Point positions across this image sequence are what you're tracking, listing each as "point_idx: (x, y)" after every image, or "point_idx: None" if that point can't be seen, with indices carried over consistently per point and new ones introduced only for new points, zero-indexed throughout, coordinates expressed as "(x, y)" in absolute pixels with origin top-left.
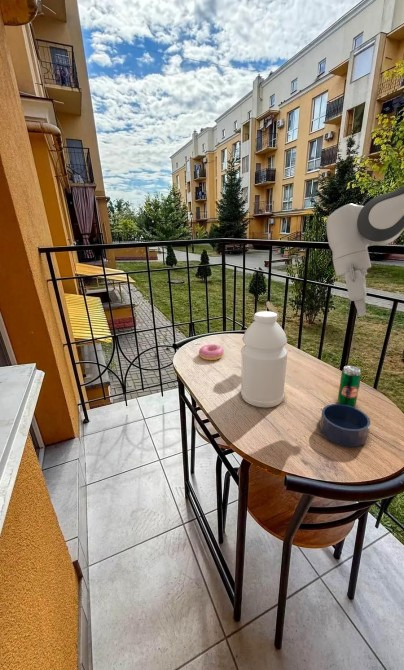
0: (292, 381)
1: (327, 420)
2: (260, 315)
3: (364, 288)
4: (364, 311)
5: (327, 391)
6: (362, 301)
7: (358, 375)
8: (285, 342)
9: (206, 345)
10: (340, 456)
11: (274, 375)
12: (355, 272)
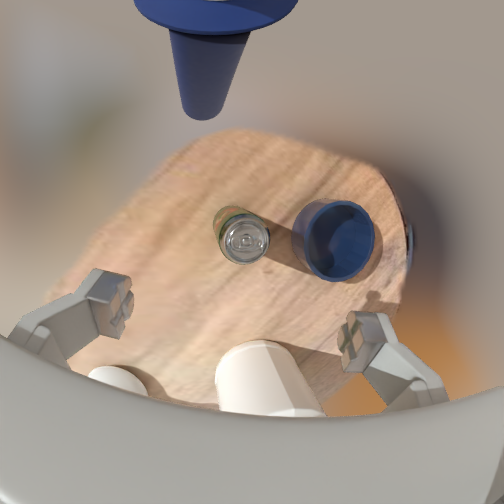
0: (174, 334)
1: (358, 271)
2: None
3: (448, 477)
4: (390, 332)
5: (190, 262)
6: (439, 390)
7: (263, 222)
8: None
9: None
10: (374, 241)
11: (310, 390)
12: None
